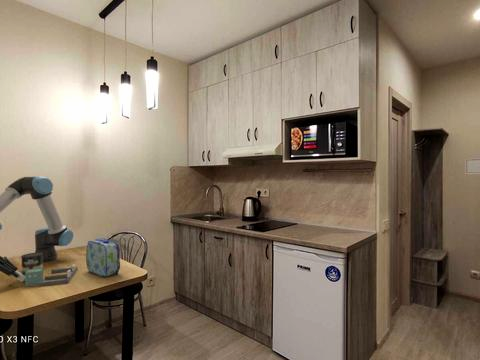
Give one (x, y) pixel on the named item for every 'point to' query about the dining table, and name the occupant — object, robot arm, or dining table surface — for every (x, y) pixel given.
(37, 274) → the teal box
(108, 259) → the lunch box
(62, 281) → the rack
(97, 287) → the dining table surface
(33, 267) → the coffee can
